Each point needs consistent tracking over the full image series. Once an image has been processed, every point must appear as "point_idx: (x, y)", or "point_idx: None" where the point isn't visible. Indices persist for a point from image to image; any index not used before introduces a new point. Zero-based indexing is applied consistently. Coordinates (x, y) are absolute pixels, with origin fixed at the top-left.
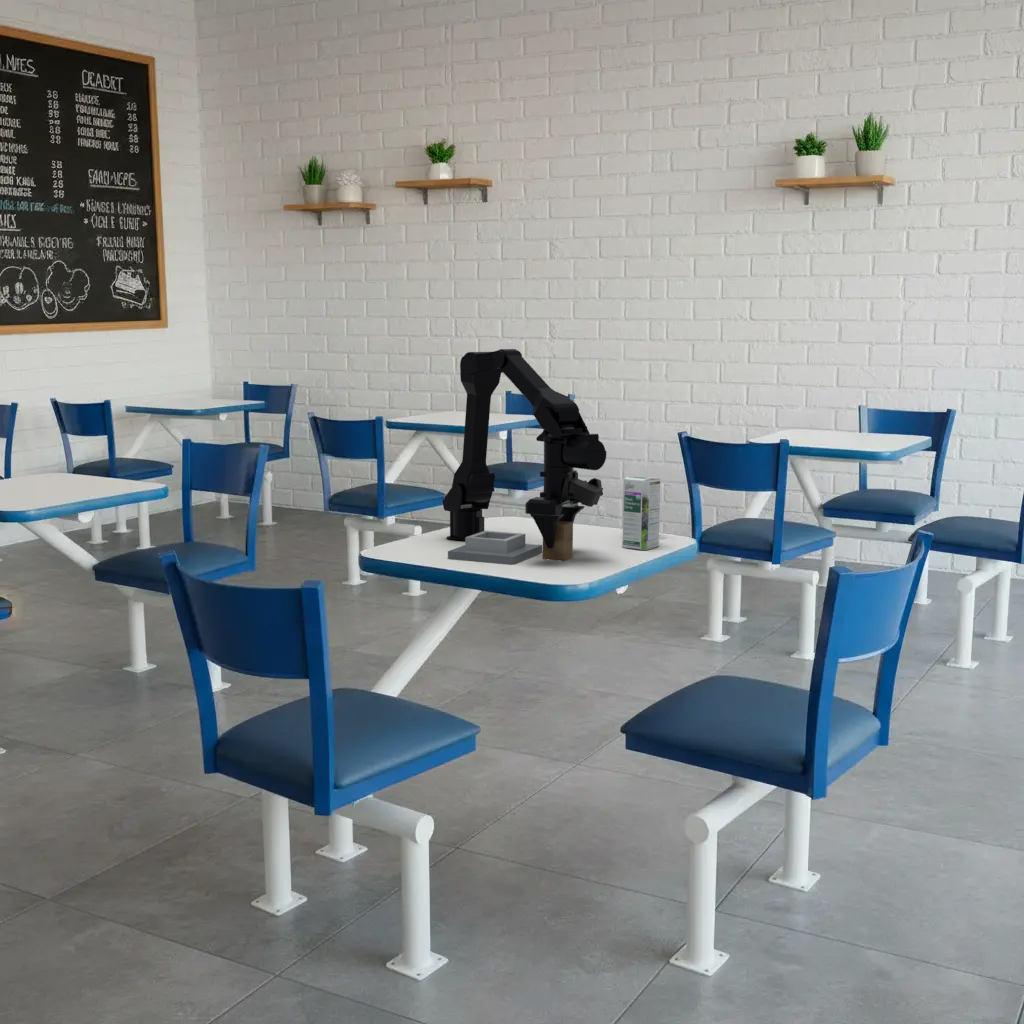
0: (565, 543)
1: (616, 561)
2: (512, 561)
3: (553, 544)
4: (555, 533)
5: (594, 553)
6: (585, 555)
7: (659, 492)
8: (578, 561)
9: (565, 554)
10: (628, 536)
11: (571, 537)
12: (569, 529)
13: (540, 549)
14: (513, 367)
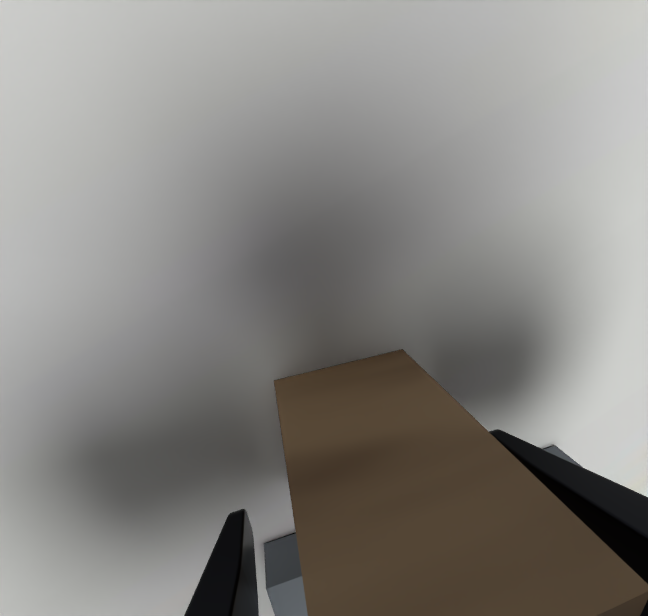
0: (441, 418)
1: (221, 3)
2: (567, 457)
3: (515, 443)
4: (607, 509)
5: (45, 349)
6: (169, 353)
7: None
8: (378, 278)
9: (400, 371)
10: None
11: (323, 482)
12: (421, 558)
13: (289, 556)
14: None
